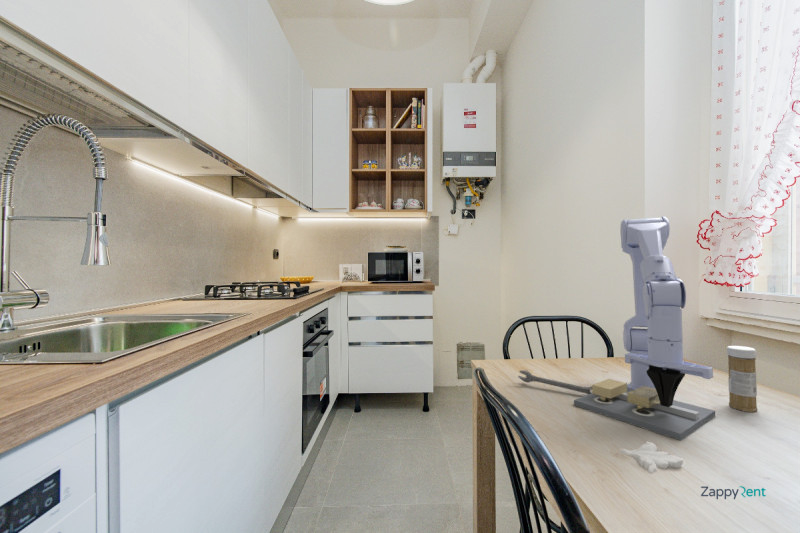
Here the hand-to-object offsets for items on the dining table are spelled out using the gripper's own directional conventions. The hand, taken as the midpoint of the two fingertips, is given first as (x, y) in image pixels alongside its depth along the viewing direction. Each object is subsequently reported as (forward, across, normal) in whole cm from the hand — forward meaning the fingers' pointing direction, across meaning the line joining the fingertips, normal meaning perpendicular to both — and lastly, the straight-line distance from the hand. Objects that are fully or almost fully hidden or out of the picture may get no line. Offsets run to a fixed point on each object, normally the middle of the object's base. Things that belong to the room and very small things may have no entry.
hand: (666, 405), depth 71 cm
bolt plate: (+3, -5, +1) cm, 6 cm away
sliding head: (+1, -4, 0) cm, 4 cm away
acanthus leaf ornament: (+4, +4, -19) cm, 20 cm away
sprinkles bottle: (+3, +7, +20) cm, 21 cm away
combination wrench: (+3, -23, -1) cm, 24 cm away
